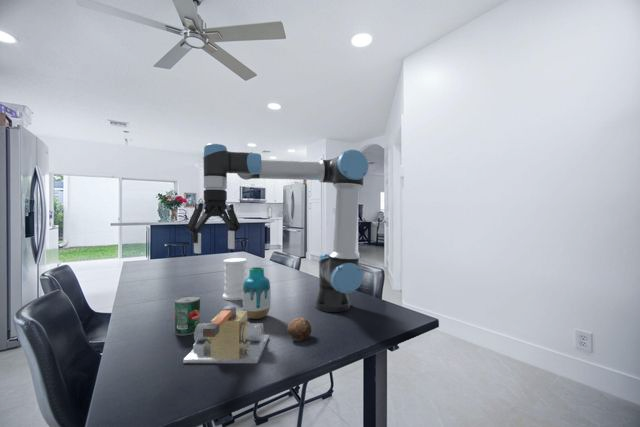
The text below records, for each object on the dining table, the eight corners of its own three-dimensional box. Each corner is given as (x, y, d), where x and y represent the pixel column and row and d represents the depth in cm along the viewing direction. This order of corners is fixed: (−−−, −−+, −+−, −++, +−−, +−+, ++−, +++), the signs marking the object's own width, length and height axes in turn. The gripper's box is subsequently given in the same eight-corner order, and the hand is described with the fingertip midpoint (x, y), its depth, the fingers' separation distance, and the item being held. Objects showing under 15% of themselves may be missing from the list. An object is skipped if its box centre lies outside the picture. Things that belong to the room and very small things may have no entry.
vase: (264, 324, 99) (264, 271, 99) (237, 321, 101) (237, 270, 101) (274, 313, 110) (274, 266, 110) (250, 311, 112) (250, 265, 112)
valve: (268, 338, 88) (268, 307, 88) (257, 363, 73) (257, 326, 73) (206, 337, 88) (206, 307, 88) (183, 363, 73) (183, 325, 73)
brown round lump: (287, 321, 93) (293, 310, 90) (308, 329, 94) (315, 318, 91) (281, 342, 86) (287, 330, 83) (304, 350, 87) (311, 339, 84)
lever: (225, 313, 82) (225, 305, 82) (237, 313, 82) (237, 305, 82) (201, 338, 65) (201, 328, 66) (216, 338, 65) (216, 328, 65)
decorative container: (229, 292, 139) (229, 257, 139) (251, 293, 137) (251, 258, 138) (218, 299, 128) (218, 261, 128) (241, 300, 126) (241, 262, 126)
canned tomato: (175, 328, 96) (175, 296, 96) (200, 324, 99) (200, 294, 99) (173, 337, 88) (173, 303, 88) (200, 333, 91) (200, 300, 92)
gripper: (236, 192, 107) (236, 246, 107) (173, 187, 86) (173, 254, 86) (249, 191, 103) (250, 247, 103) (187, 185, 82) (187, 256, 82)
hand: (215, 250), depth 94 cm, fingers open, 13 cm apart
